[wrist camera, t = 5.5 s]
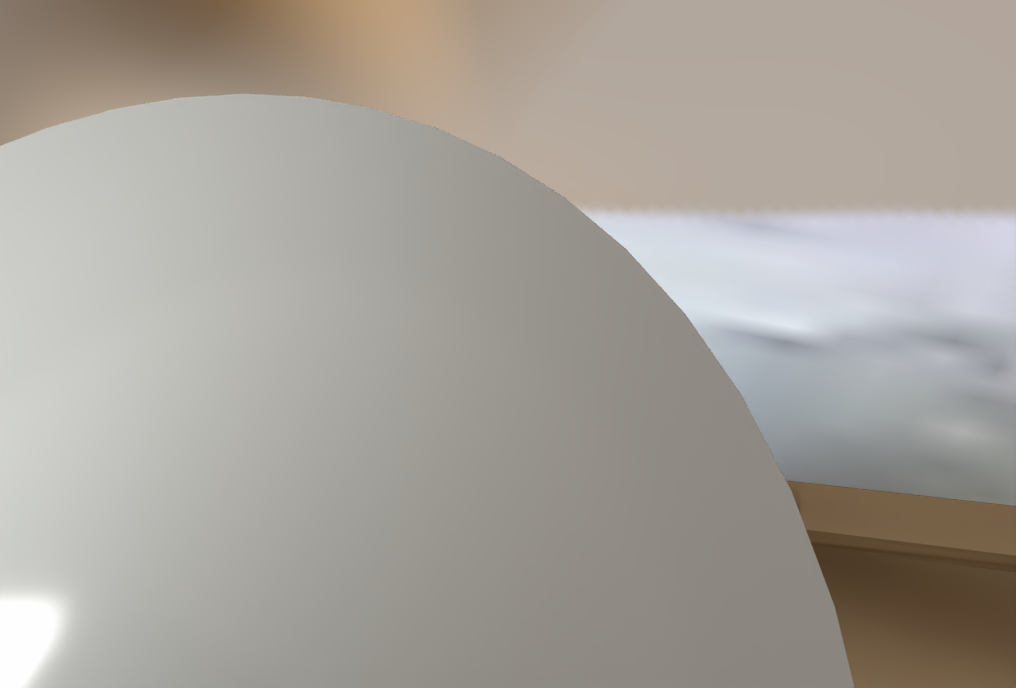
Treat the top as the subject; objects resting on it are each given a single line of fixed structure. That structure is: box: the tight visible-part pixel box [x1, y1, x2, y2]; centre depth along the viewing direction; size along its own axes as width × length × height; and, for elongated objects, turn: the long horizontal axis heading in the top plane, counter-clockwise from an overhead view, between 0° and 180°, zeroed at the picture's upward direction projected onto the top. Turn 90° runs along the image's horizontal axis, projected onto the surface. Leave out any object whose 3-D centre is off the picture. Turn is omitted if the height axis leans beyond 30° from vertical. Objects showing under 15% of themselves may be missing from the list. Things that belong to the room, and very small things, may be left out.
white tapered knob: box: [0, 94, 854, 688], centre depth 8 cm, size 6×6×13 cm
